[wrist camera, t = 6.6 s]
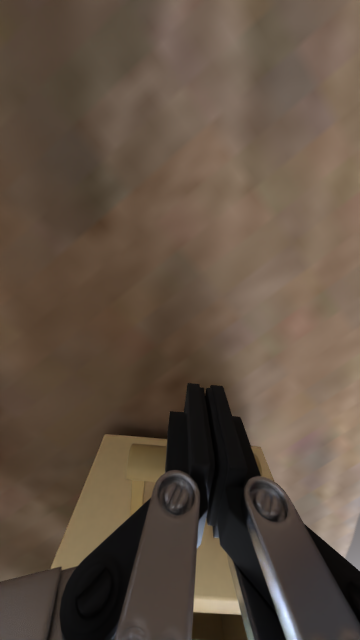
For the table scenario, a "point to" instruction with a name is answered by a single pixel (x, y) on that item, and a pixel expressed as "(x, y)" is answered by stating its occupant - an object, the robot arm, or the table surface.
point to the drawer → (124, 500)
